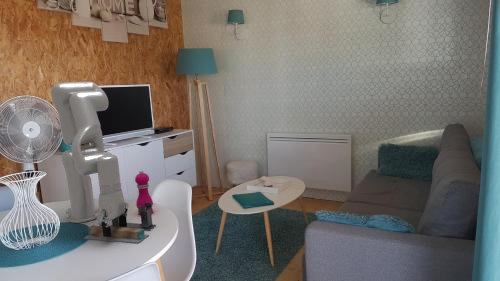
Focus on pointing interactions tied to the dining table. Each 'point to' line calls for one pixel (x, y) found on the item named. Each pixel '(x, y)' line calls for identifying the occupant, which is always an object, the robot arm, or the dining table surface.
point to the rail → (118, 232)
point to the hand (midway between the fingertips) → (115, 231)
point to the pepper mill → (143, 190)
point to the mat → (115, 239)
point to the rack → (145, 219)
